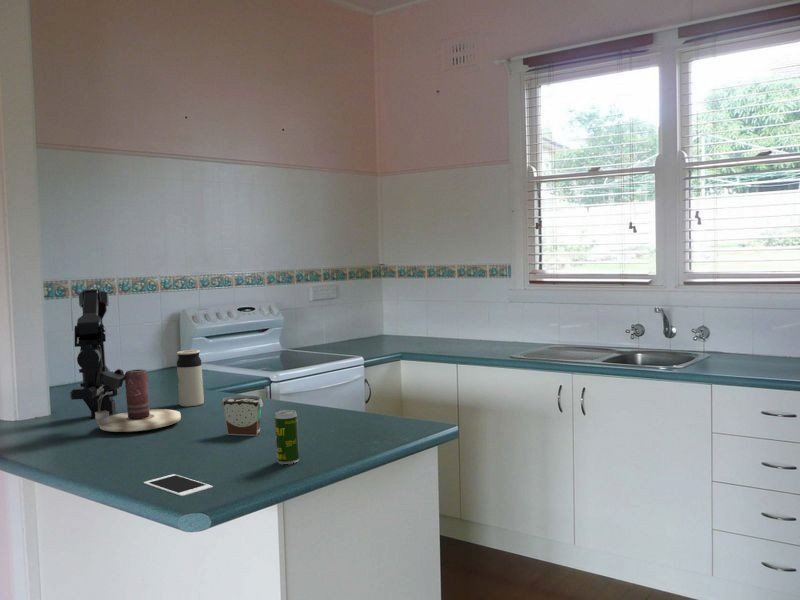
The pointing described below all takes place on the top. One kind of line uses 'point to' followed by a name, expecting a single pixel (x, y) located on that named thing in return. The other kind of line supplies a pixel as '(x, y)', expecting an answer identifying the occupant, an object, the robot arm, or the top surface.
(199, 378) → the travel mug
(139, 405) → the can
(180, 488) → the cell phone
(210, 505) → the top surface
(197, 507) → the top surface
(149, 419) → the turntable
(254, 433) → the food container
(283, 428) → the beer can
